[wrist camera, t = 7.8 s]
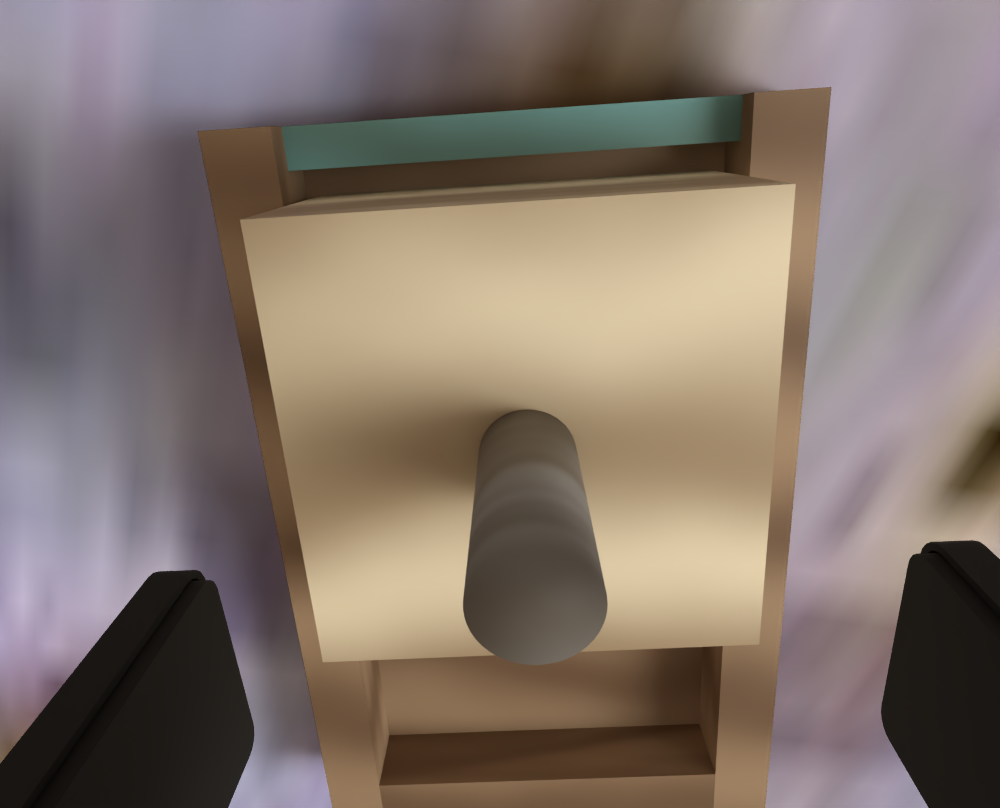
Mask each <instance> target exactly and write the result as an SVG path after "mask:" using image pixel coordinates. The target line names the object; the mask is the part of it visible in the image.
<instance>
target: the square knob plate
mask: <svg viewBox="0 0 1000 808" xmlns="http://www.w3.org/2000/svg"><path fill="white" fill-rule="evenodd" d="M795 187H796V184H794V183H787V182H781V181H775V180H769V179H762V178H756V177H750V176H744V175H737V174H731V173H725V172H719V171H712V170H703V171H688V172H673V173H657V174H642V175H627V176H612V177H596V178H581V179H566V180H551V181H536V182H520V183H505V184H490V185H475V186H460V187H444V188H429V189H414V190H399V191H383V192H368V193H353V194H338V195H323V196H318V197H315V198H311V199H308V200H305V201H301V202H298V203H295V204H291V205H288V206H284V207H281V208H278V209H274V210H271V211H268V212H264V213H261V214H258V215H254V216H251V217H248V218H244V219H241V220H240V223H241V228H242V233H243V239H244V244H245V249H246V255H247V260H248V265H249V271H250V276H251V281H252V287H253V292H254V297H255V303H256V308H257V313H258V319H259V324H260V329H261V335H262V340H263V345H264V351H265V356H266V361H267V367H268V372H269V377H270V383H271V388H272V393H273V399H274V404H275V409H276V415H277V420H278V425H279V431H280V436H281V441H282V447H283V452H284V457H285V463H286V468H287V473H288V479H289V484H290V489H291V495H292V500H293V505H294V511H295V516H296V521H297V527H298V532H299V537H300V543H301V548H302V553H303V559H304V564H305V569H306V575H307V580H308V585H309V591H310V596H311V601H312V607H313V612H314V617H315V623H316V628H317V633H318V639H319V644H320V649H321V655H322V660H323V662H342V661H366V660H391V659H415V658H440V657H464V656H489V655H496V656H498V657H500V658H502V659H505V660H508V661H511V662H515V663H519V664H526V665H543V664H550V663H555V662H559V661H562V660H565V659H567V658H570V657H572V656H574V655H576V654H577V653H579V652H587V651H612V650H636V649H661V648H685V647H710V646H735V645H759V641H760V629H761V616H762V604H763V591H764V578H765V566H766V553H767V540H768V528H769V515H770V503H771V490H772V477H773V465H774V452H775V440H776V427H777V414H778V402H779V389H780V377H781V364H782V351H783V339H784V326H785V313H786V301H787V288H788V276H789V263H790V250H791V238H792V225H793V213H794V200H795Z"/></svg>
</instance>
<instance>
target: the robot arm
mask: <svg viewBox="0 0 1000 808" xmlns="http://www.w3.org/2000/svg"><path fill="white" fill-rule="evenodd" d="M881 715H882V722H883V726H884V729H885V732H886V735H887V737H888V739H889V741H890V742H891V744H892V746H893V747H894V749H895V751H896V753H897V754H898V756H899V758H900V759H901V761H902V763H903V765H904V766H905V768H906V770H907V771H908V773H909V775H910V777H911V778H912V780H913V782H914V783H915V785H916V787H917V789H918V790H919V792H920V794H921V795H922V797H923V799H924V801H925V802H926V804H927V806H928V807H929V808H1000V559H999V558H998V557H997V556H996V555H995V554H993V553H992V552H991V551H990V550H989V549H988V548H987V547H986V546H985V545H983V544H982V543H980V542H978V541H973V540H971V541H945V542H930V543H927V544H926V545H925V546H924V547H923V548H922V551H921V554H915V555H913V556H912V557H911V558H910V560H909V564H908V568H907V574H906V579H905V584H904V590H903V595H902V600H901V606H900V611H899V616H898V621H897V627H896V632H895V637H894V643H893V648H892V653H891V659H890V664H889V669H888V675H887V680H886V685H885V691H884V696H883V701H882V708H881ZM253 742H254V725H253V720H252V717H251V713H250V709H249V705H248V702H247V698H246V694H245V690H244V687H243V683H242V679H241V675H240V671H239V668H238V664H237V660H236V656H235V653H234V649H233V645H232V641H231V637H230V634H229V630H228V626H227V622H226V619H225V615H224V611H223V607H222V604H221V600H220V596H219V592H218V589H217V586H216V584H215V583H214V582H213V581H211V580H205V578H204V576H203V574H202V573H201V572H200V571H197V570H186V571H160V572H155V573H153V574H152V575H150V576H149V577H148V578H147V580H146V581H145V582H144V583H143V585H142V586H141V587H140V588H139V590H138V591H137V592H136V594H135V595H134V596H133V597H132V599H131V600H130V601H129V602H128V604H127V605H126V606H125V607H124V609H123V610H122V611H121V612H120V614H119V615H118V616H117V617H116V619H115V620H114V621H113V622H112V624H111V625H110V626H109V628H108V629H107V630H106V631H105V633H104V634H103V635H102V636H101V638H100V639H99V640H98V641H97V643H96V644H95V645H94V646H93V648H92V649H91V650H90V651H89V653H88V654H87V655H86V656H85V658H84V659H83V660H82V662H81V663H80V664H79V665H78V667H77V668H76V669H75V670H74V672H73V673H72V674H71V675H70V677H69V678H68V679H67V680H66V682H65V683H64V684H63V685H62V687H61V688H60V689H59V691H58V692H57V693H56V694H55V696H54V697H53V698H52V699H51V701H50V702H49V703H48V704H47V706H46V707H45V708H44V709H43V711H42V712H41V713H40V714H39V716H38V717H37V718H36V719H35V721H34V722H33V723H32V725H31V726H30V727H29V728H28V730H27V731H26V732H25V733H24V735H23V736H22V737H21V738H20V740H19V741H18V742H17V743H16V745H15V746H14V747H13V748H12V750H11V751H10V752H9V753H8V755H7V756H6V757H5V759H4V760H3V761H2V762H1V764H0V808H228V807H229V804H230V802H231V799H232V797H233V795H234V792H235V790H236V787H237V785H238V783H239V780H240V778H241V775H242V773H243V771H244V768H245V766H246V764H247V761H248V759H249V756H250V754H251V751H252V747H253Z"/></svg>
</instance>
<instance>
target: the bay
mask: <svg viewBox="0 0 1000 808" xmlns="http://www.w3.org/2000/svg"><path fill="white" fill-rule="evenodd" d="M830 96H831V87H826V88H811V89H797V90H783V91H768V92H754V93H749V94H744V95H731V96H717V97H702V98H688V99H673V100H659V101H645V102H630V103H616V104H602V105H587V106H573V107H558V108H544V109H530V110H515V111H501V112H487V113H472V114H458V115H443V116H429V117H415V118H400V119H386V120H372V121H357V122H343V123H328V124H314V125H300V126H285V127H276V126H266V127H251V128H237V129H223V130H208V131H198V136H199V141H200V146H201V151H202V156H203V161H204V166H205V171H206V176H207V181H208V186H209V191H210V196H211V201H212V206H213V211H214V216H215V221H216V226H217V231H218V236H219V241H220V246H221V251H222V256H223V261H224V266H225V271H226V276H227V281H228V286H229V291H230V296H231V301H232V306H233V311H234V316H235V321H236V326H237V331H238V336H239V341H240V346H241V351H242V356H243V361H244V366H245V371H246V376H247V381H248V386H249V391H250V396H251V401H252V407H253V412H254V417H255V422H256V427H257V432H258V437H259V442H260V447H261V452H262V457H263V462H264V467H265V472H266V477H267V482H268V487H269V492H270V497H271V502H272V507H273V512H274V517H275V522H276V527H277V532H278V537H279V542H280V547H281V552H282V557H283V562H284V567H285V572H286V577H287V582H288V587H289V592H290V597H291V602H292V607H293V612H294V617H295V622H296V627H297V632H298V637H299V642H300V647H301V652H302V657H303V662H304V667H305V672H306V677H307V682H308V687H309V692H310V697H311V702H312V707H313V712H314V717H315V722H316V727H317V732H318V737H319V743H320V748H321V753H322V758H323V763H324V768H325V773H326V778H327V783H328V788H329V793H330V798H331V803H332V808H765V803H766V792H767V781H768V770H769V759H770V749H771V738H772V727H773V716H774V705H775V694H776V683H777V672H778V661H779V651H780V640H781V629H782V618H783V607H784V596H785V585H786V574H787V564H788V553H789V542H790V531H791V520H792V509H793V498H794V487H795V477H796V466H797V455H798V444H799V433H800V422H801V411H802V400H803V390H804V379H805V368H806V357H807V346H808V335H809V324H810V313H811V302H812V292H813V281H814V270H815V259H816V248H817V237H818V226H819V215H820V205H821V194H822V183H823V172H824V161H825V150H826V139H827V128H828V118H829V107H830ZM703 170H712V171H719V172H725V173H731V174H737V175H744V176H750V177H756V178H762V179H769V180H775V181H781V182H787V183H794V184H796V187H795V200H794V213H793V225H792V238H791V250H790V263H789V276H788V288H787V301H786V313H785V326H784V339H783V351H782V364H781V377H780V389H779V402H778V414H777V427H776V440H775V452H774V465H773V477H772V490H771V503H770V515H769V528H768V540H767V553H766V566H765V578H764V591H763V604H762V616H761V629H760V641H759V645H735V646H710V647H685V648H661V649H636V650H612V651H587V652H579V653H577V654H576V655H574V656H572V657H570V658H567V659H565V660H562V661H559V662H555V663H550V664H543V665H526V664H519V663H515V662H511V661H508V660H505V659H502V658H500V657H498V656H496V655H489V656H464V657H440V658H415V659H391V660H366V661H342V662H323V660H322V655H321V649H320V644H319V639H318V633H317V628H316V623H315V617H314V612H313V607H312V601H311V596H310V591H309V585H308V580H307V575H306V569H305V564H304V559H303V553H302V548H301V543H300V537H299V532H298V527H297V521H296V516H295V511H294V505H293V500H292V495H291V489H290V484H289V479H288V473H287V468H286V463H285V457H284V452H283V447H282V441H281V436H280V431H279V425H278V420H277V415H276V409H275V404H274V399H273V393H272V388H271V383H270V377H269V372H268V367H267V361H266V356H265V351H264V345H263V340H262V335H261V329H260V324H259V319H258V313H257V308H256V303H255V297H254V292H253V287H252V281H251V276H250V271H249V265H248V260H247V255H246V249H245V244H244V239H243V233H242V228H241V223H240V220H241V219H244V218H248V217H251V216H254V215H258V214H261V213H264V212H268V211H271V210H274V209H278V208H281V207H284V206H288V205H291V204H295V203H298V202H301V201H305V200H308V199H311V198H315V197H318V196H323V195H338V194H353V193H368V192H383V191H399V190H414V189H429V188H444V187H460V186H475V185H490V184H505V183H520V182H536V181H551V180H566V179H581V178H596V177H612V176H627V175H642V174H657V173H673V172H688V171H703Z"/></svg>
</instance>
